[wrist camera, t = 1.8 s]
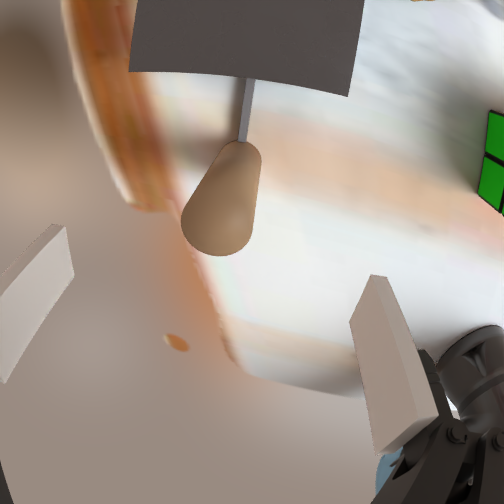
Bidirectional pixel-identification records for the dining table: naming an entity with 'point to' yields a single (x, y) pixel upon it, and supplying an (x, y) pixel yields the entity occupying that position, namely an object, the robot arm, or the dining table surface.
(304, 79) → the lane shelf
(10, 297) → the robot arm
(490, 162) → the puzzle cube
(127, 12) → the dining table surface
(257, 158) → the tethered block
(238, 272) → the dining table surface
